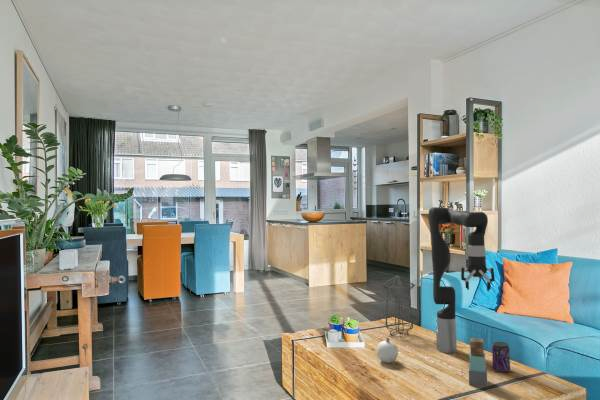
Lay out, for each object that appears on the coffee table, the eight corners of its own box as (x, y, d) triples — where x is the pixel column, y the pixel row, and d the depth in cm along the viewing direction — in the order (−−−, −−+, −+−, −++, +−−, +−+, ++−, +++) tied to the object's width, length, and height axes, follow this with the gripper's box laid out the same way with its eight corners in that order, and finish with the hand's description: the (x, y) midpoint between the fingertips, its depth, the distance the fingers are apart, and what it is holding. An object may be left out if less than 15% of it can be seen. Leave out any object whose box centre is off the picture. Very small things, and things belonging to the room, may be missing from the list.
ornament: (398, 366, 198) (397, 340, 198) (376, 365, 200) (376, 340, 200) (398, 358, 208) (397, 334, 208) (377, 357, 210) (376, 333, 210)
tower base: (469, 385, 175) (468, 370, 175) (469, 378, 181) (468, 364, 182) (487, 387, 172) (486, 372, 172) (486, 380, 179) (486, 366, 179)
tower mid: (470, 370, 175) (469, 356, 175) (470, 365, 181) (469, 351, 181) (485, 372, 173) (485, 357, 173) (485, 367, 178) (484, 352, 179)
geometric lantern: (396, 329, 259) (395, 273, 260) (418, 334, 246) (416, 275, 247) (380, 334, 248) (378, 276, 250) (402, 340, 236) (400, 278, 237)
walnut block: (470, 355, 176) (470, 341, 176) (470, 351, 180) (470, 337, 181) (483, 356, 174) (483, 342, 174) (483, 353, 179) (482, 338, 179)
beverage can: (500, 374, 185) (499, 347, 185) (489, 368, 192) (488, 342, 192) (513, 372, 187) (512, 345, 187) (502, 366, 194) (501, 340, 194)
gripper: (460, 255, 193) (461, 290, 193) (493, 256, 187) (495, 292, 187) (460, 253, 200) (461, 287, 199) (493, 254, 194) (494, 289, 194)
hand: (478, 290), depth 193 cm, fingers open, 8 cm apart
